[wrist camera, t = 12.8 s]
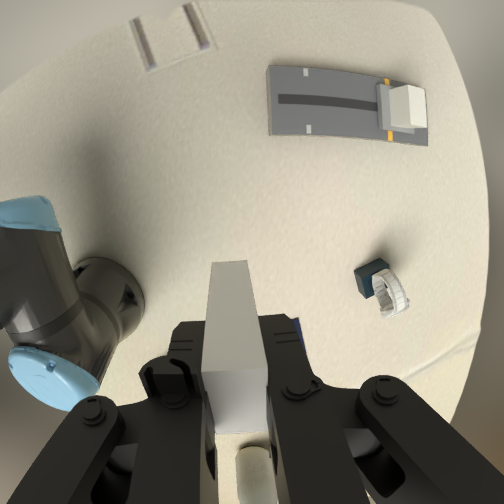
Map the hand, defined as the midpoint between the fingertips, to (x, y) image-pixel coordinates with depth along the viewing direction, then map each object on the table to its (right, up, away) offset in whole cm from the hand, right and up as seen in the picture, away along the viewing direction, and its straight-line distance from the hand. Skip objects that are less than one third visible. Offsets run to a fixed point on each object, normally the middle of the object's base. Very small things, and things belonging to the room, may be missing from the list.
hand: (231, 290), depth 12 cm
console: (+16, +24, +24) cm, 38 cm away
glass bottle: (+1, -52, +51) cm, 73 cm away
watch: (+22, -2, +34) cm, 41 cm away
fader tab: (+22, +23, +22) cm, 38 cm away
